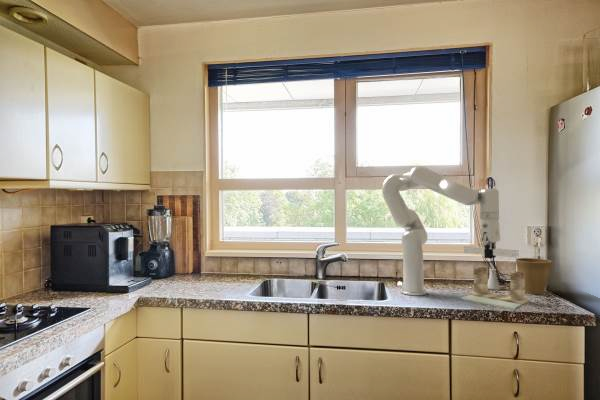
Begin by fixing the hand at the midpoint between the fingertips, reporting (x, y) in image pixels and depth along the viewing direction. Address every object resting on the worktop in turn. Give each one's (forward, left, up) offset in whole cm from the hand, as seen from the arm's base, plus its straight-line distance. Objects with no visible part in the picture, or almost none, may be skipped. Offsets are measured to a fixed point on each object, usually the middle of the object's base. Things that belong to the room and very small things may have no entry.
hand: (490, 257), depth 166 cm
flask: (-9, +27, -20) cm, 35 cm away
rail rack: (0, +10, -20) cm, 22 cm away
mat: (0, 0, -20) cm, 20 cm away
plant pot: (+8, +32, -20) cm, 39 cm away
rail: (0, 0, +1) cm, 1 cm away
